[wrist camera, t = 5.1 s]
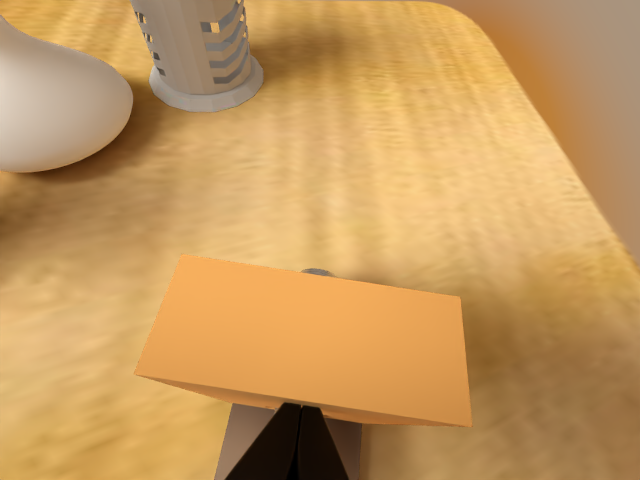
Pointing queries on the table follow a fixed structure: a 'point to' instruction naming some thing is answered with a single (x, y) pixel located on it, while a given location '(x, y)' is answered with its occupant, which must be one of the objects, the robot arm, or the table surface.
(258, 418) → the pipe board
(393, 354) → the collar
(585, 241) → the table surface
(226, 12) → the french press
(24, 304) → the table surface
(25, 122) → the flower in vase
